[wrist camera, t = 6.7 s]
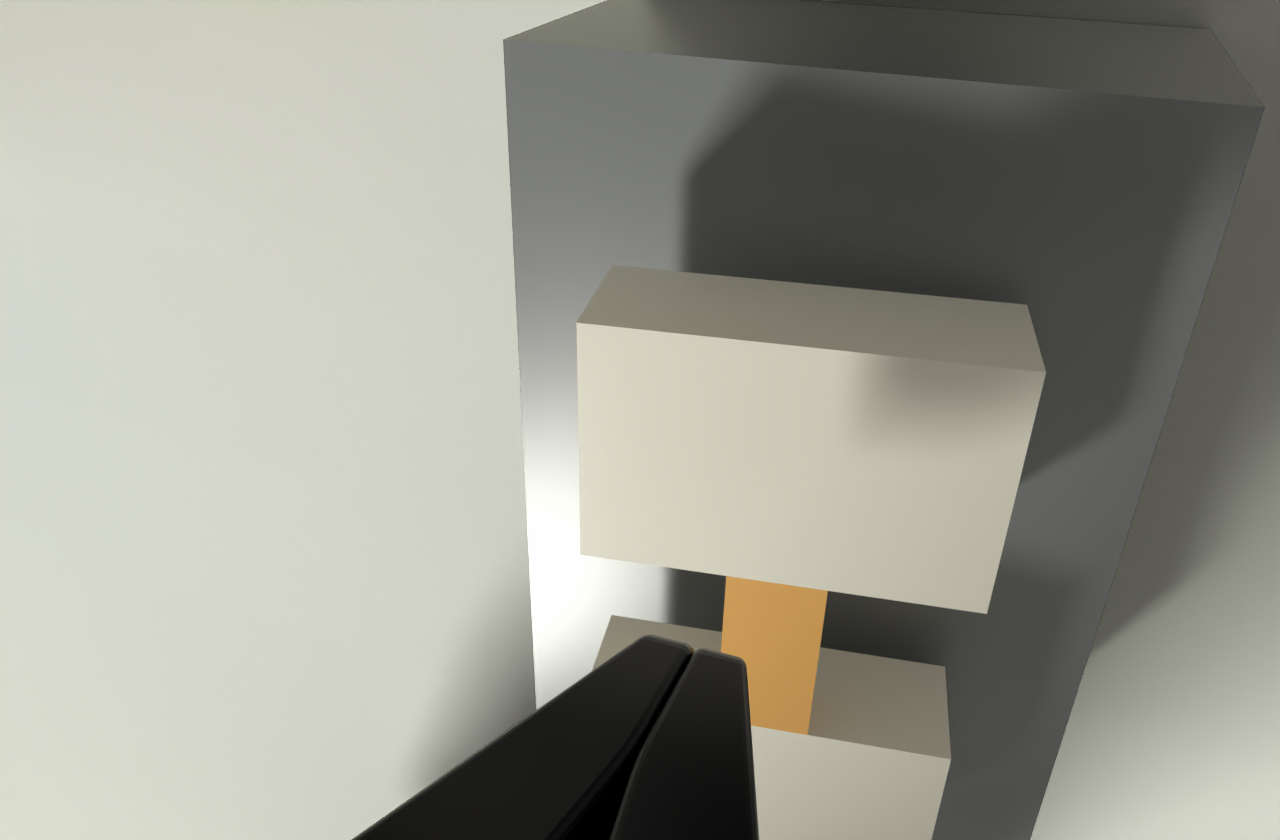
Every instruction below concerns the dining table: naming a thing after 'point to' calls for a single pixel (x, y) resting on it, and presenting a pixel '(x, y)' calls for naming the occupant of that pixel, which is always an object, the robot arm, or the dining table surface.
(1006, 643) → the switch block
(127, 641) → the dining table surface
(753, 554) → the rocker paddles
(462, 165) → the dining table surface
